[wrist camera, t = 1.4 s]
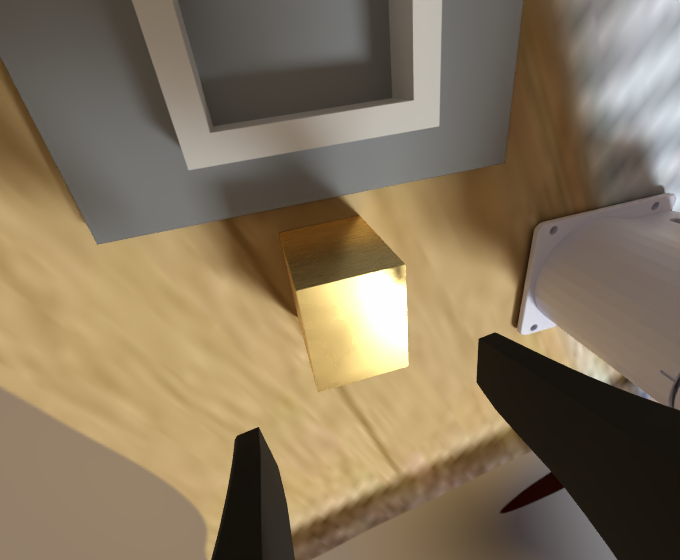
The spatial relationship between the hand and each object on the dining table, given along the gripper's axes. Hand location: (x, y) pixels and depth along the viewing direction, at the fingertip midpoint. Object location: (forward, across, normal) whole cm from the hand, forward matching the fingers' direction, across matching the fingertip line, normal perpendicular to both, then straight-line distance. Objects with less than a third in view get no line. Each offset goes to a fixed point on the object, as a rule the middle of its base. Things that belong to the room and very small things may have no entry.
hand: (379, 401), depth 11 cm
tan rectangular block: (+9, -1, 0) cm, 9 cm away
